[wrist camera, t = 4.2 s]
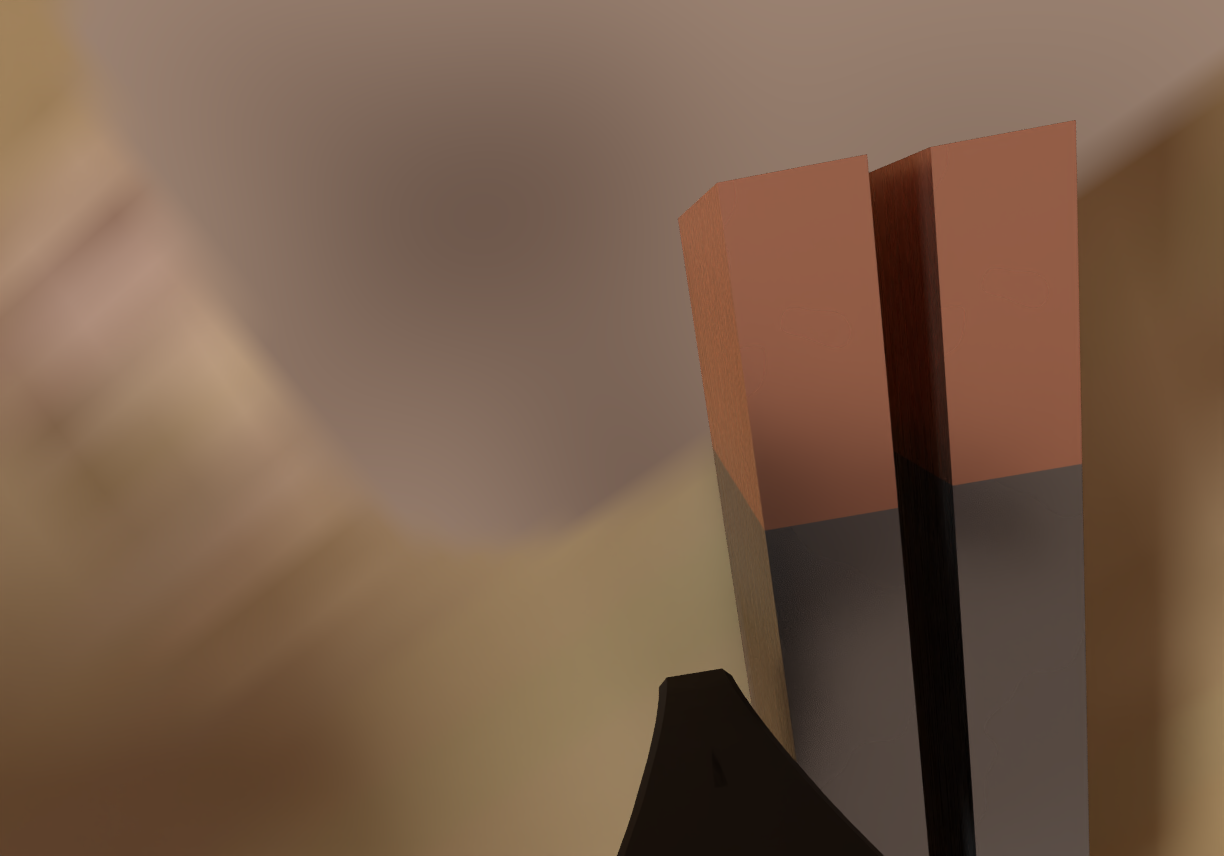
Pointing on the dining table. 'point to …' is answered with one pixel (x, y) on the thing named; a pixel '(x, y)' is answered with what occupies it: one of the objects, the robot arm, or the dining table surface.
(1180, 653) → the dining table surface
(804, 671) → the bar
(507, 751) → the dining table surface
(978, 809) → the base
